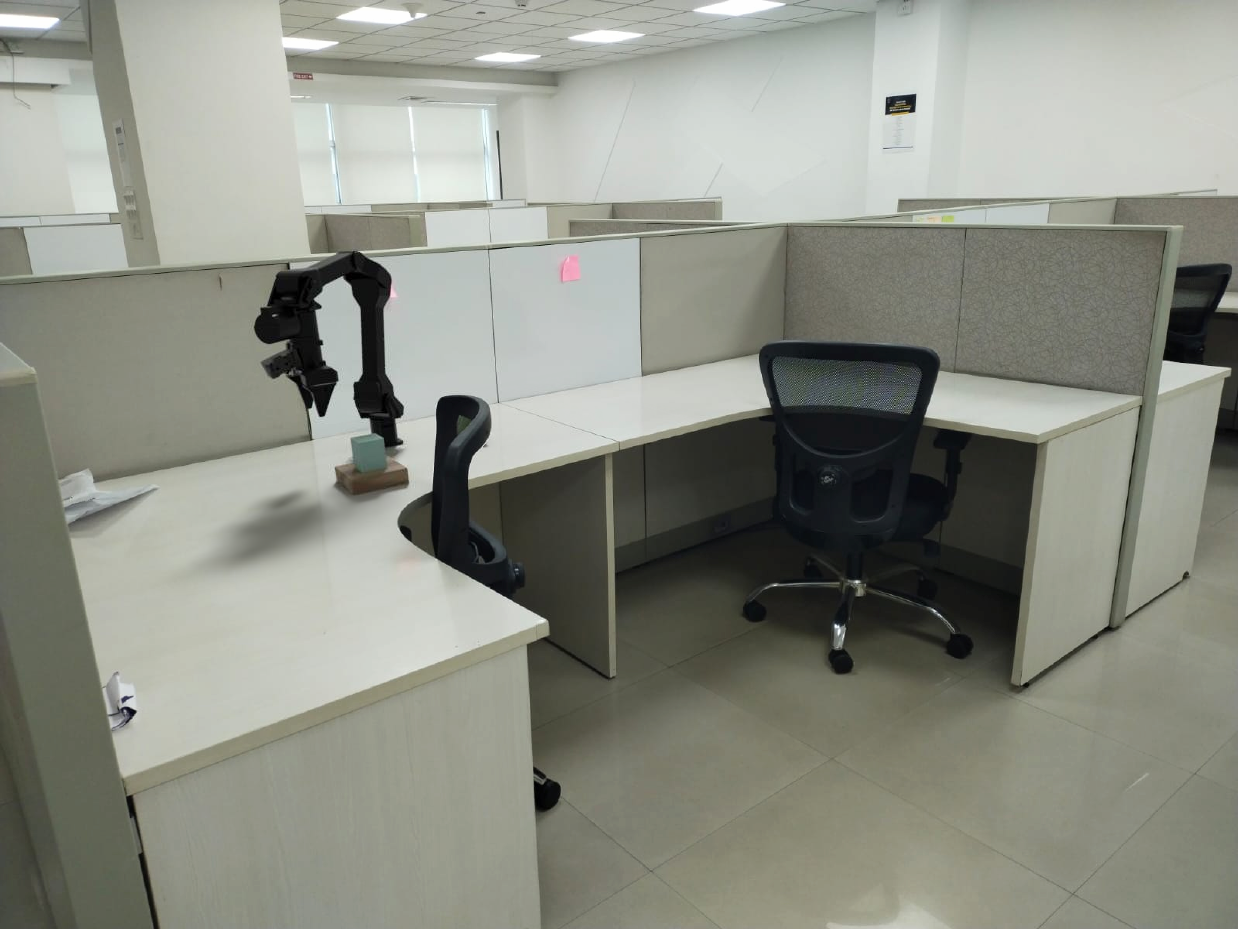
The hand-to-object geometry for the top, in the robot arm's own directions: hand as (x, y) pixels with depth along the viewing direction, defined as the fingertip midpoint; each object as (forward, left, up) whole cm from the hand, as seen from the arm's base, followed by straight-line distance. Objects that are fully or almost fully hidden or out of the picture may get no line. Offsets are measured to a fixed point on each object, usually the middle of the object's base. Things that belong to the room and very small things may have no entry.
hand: (315, 412), depth 177 cm
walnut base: (+12, +6, -13) cm, 19 cm away
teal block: (+12, +6, -10) cm, 17 cm away
